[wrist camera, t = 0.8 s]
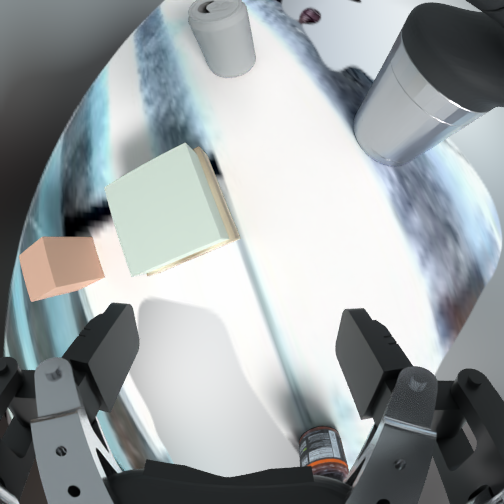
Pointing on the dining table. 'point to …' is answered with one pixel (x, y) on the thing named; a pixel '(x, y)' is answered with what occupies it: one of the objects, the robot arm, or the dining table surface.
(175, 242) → the sage top block
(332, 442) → the supplement bottle
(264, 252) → the dining table surface
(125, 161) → the dining table surface
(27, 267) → the terracotta pillar block
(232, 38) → the beverage can
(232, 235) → the birch base block
